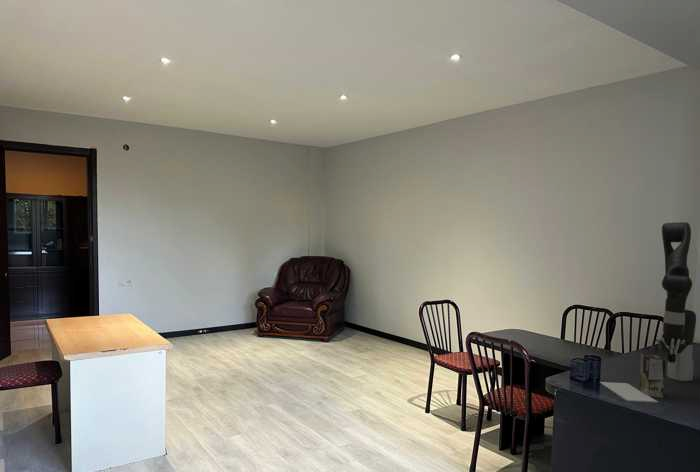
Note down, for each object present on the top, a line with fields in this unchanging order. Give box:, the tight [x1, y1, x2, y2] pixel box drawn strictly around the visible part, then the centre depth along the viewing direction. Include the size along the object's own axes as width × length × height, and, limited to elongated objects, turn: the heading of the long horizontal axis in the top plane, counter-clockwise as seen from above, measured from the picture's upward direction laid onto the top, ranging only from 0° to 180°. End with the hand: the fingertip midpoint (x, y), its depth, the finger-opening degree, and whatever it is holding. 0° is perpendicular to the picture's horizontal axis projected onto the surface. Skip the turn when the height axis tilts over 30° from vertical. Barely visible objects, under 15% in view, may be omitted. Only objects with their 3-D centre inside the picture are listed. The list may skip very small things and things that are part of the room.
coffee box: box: [638, 353, 667, 399], centre depth 206 cm, size 9×6×16 cm
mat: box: [599, 381, 659, 404], centre depth 206 cm, size 12×22×1 cm, turn 0°
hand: (671, 362), depth 206 cm, fingers closed
